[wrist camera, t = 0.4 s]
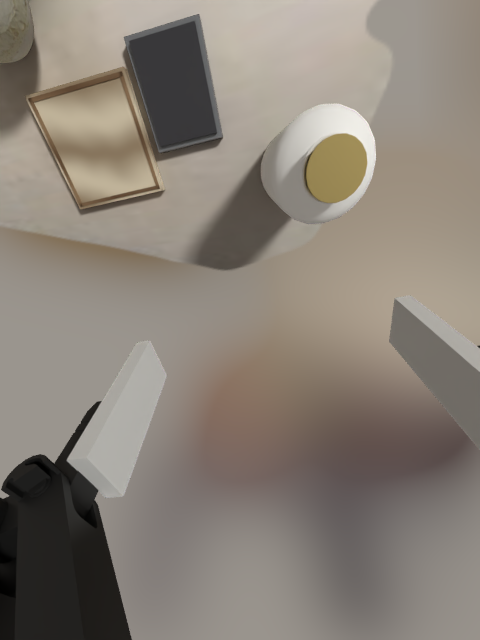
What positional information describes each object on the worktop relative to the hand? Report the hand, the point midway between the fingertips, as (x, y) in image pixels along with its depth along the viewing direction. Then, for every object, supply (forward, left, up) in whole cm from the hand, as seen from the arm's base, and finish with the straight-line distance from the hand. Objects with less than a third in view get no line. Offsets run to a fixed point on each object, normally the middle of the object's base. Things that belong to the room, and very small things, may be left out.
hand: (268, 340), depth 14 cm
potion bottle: (-7, +6, -27) cm, 28 cm away
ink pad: (-17, -6, -27) cm, 32 cm away
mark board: (-14, -17, -27) cm, 34 cm away
